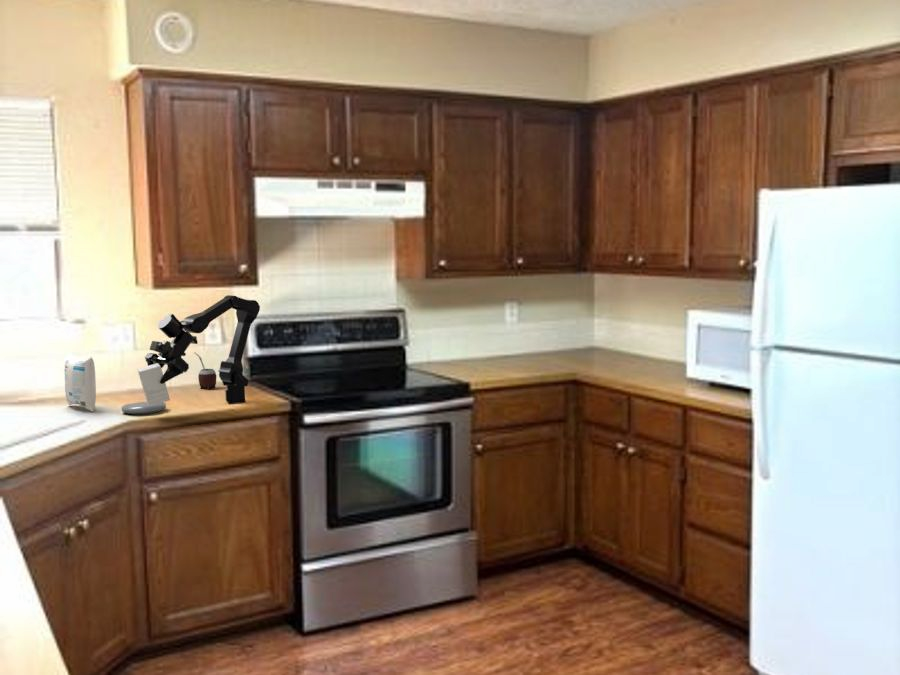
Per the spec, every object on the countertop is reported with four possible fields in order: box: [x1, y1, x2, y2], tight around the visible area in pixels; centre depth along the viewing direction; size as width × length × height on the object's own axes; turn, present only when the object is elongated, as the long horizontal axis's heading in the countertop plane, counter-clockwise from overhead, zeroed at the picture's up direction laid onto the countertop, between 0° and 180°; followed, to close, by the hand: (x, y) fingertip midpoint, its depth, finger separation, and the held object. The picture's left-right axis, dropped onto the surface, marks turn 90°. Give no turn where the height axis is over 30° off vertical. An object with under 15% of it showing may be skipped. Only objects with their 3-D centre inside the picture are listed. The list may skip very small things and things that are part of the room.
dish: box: [121, 401, 167, 415], centre depth 320 cm, size 15×15×2 cm
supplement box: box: [137, 363, 171, 406], centre depth 307 cm, size 7×7×13 cm
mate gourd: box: [193, 352, 217, 391], centre depth 364 cm, size 8×8×15 cm
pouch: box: [64, 352, 97, 413], centre depth 326 cm, size 8×19×20 cm, turn 44°
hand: (152, 381), depth 307 cm, fingers closed on supplement box, 9 cm apart
